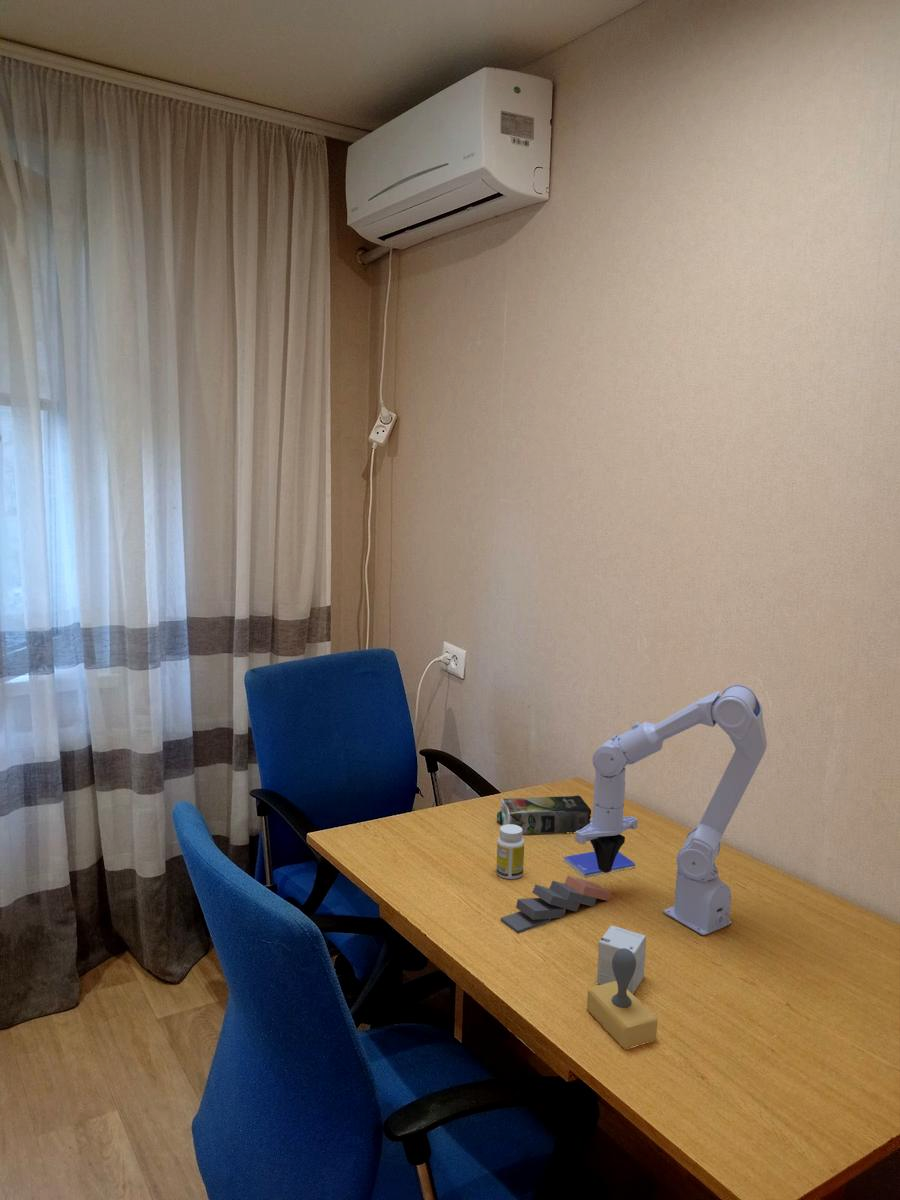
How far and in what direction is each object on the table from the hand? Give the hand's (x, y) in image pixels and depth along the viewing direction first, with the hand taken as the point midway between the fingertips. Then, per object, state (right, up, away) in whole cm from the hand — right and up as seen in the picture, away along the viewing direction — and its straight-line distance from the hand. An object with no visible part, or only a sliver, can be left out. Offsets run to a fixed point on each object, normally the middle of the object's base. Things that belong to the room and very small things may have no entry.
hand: (604, 870), depth 162 cm
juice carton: (-8, 0, +32) cm, 33 cm away
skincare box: (-2, -9, -27) cm, 29 cm away
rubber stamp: (-5, -11, -38) cm, 40 cm away
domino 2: (-10, -5, -6) cm, 13 cm away
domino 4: (-4, -4, -2) cm, 6 cm away
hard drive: (+1, -4, +13) cm, 14 cm away
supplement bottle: (-18, -3, +8) cm, 20 cm away
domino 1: (-13, -6, -8) cm, 16 cm away
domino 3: (-7, -5, -4) cm, 10 cm away
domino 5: (-1, -4, 0) cm, 4 cm away
